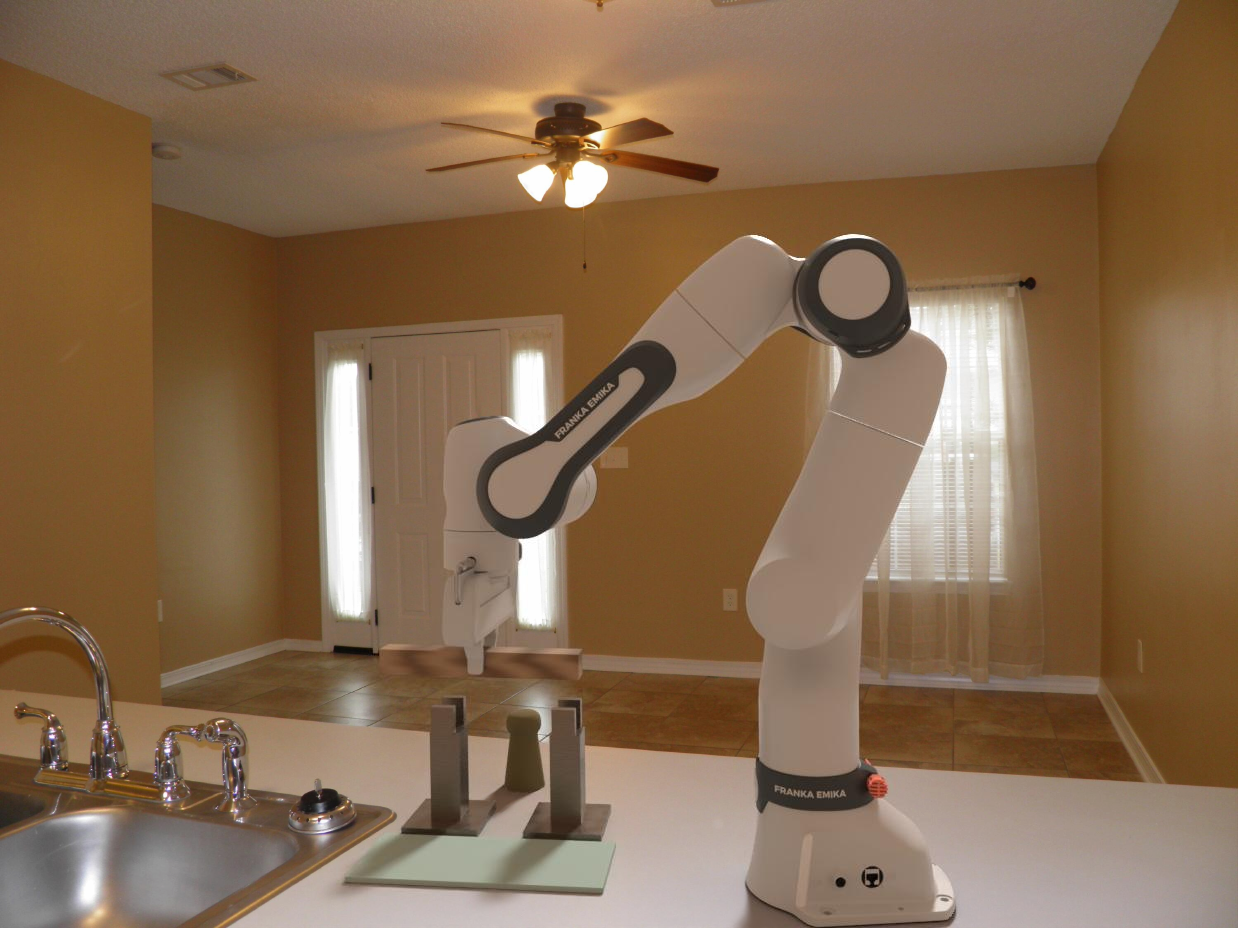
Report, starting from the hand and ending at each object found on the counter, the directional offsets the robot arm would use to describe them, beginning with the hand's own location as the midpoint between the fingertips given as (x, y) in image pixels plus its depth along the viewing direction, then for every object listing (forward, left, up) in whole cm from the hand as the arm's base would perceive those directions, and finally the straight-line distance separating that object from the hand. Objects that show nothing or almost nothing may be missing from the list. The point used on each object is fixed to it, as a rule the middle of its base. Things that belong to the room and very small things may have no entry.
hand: (481, 668), depth 110 cm
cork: (+1, -26, -24) cm, 35 cm away
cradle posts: (0, -12, -24) cm, 26 cm away
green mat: (0, 0, -24) cm, 24 cm away
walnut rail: (0, 0, -1) cm, 1 cm away
